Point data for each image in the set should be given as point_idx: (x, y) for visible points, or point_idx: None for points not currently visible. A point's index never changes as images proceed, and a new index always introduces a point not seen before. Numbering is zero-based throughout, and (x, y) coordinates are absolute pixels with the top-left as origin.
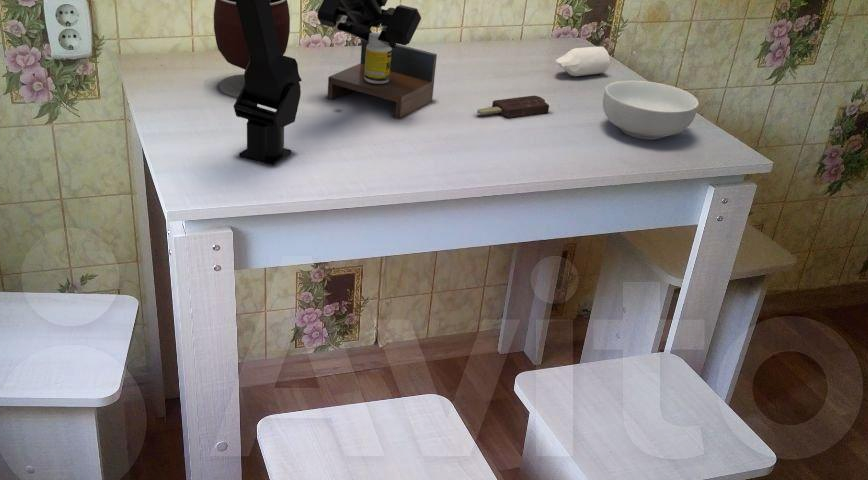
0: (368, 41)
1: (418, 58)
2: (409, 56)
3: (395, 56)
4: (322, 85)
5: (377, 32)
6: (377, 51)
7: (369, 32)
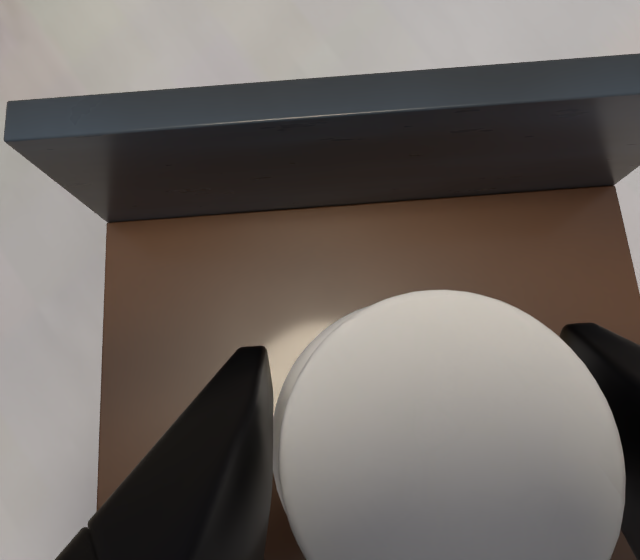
0: (271, 468)
1: (565, 129)
2: (484, 138)
3: (356, 158)
4: (23, 422)
5: (345, 381)
6: None
7: (249, 466)
